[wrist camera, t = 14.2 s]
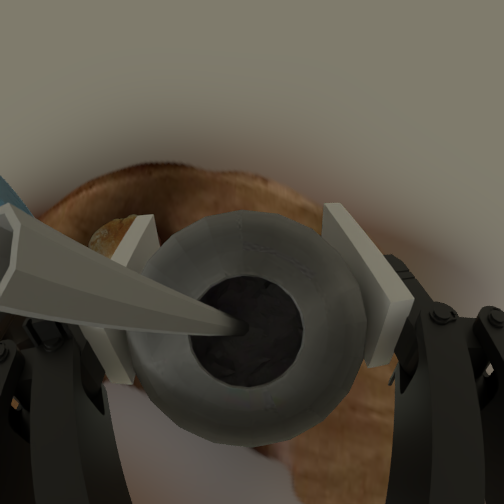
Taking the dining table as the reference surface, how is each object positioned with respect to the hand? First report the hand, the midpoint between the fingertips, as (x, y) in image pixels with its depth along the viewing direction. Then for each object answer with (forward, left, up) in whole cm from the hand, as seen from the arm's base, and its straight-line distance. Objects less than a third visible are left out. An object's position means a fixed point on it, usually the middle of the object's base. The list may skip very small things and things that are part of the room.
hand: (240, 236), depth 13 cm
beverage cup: (+2, -3, -9) cm, 10 cm away
